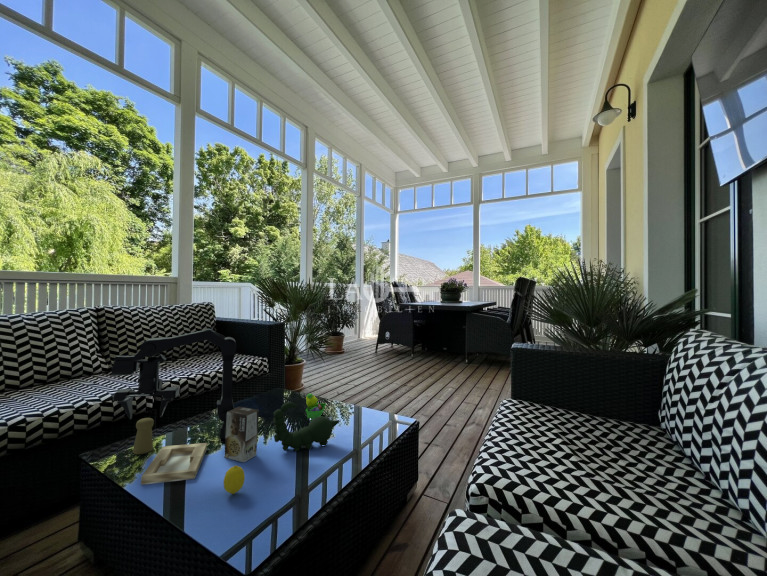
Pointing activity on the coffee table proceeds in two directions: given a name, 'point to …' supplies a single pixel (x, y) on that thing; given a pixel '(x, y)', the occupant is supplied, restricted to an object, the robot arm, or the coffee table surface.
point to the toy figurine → (302, 430)
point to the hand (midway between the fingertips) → (145, 417)
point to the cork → (143, 436)
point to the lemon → (234, 479)
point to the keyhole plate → (175, 463)
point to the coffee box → (241, 434)
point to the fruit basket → (314, 407)
